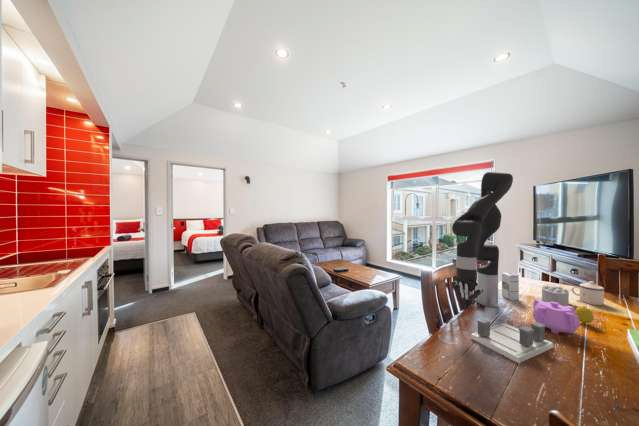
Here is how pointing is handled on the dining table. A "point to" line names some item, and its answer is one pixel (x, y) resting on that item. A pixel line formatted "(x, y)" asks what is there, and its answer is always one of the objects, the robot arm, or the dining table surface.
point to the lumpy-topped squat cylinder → (555, 295)
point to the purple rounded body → (556, 316)
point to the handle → (538, 331)
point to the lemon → (584, 315)
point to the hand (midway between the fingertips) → (466, 306)
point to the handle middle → (526, 336)
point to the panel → (511, 343)
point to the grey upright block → (483, 327)
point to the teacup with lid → (591, 293)
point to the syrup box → (510, 286)
